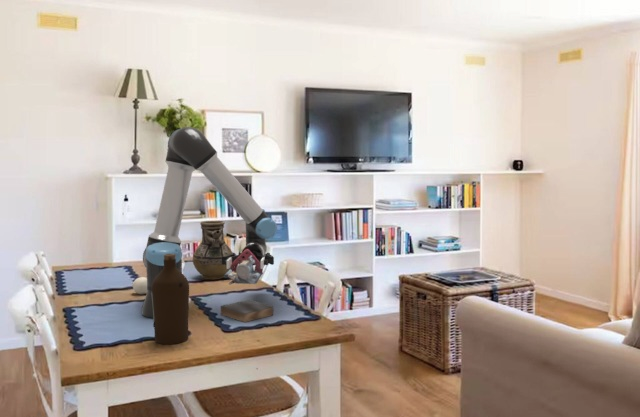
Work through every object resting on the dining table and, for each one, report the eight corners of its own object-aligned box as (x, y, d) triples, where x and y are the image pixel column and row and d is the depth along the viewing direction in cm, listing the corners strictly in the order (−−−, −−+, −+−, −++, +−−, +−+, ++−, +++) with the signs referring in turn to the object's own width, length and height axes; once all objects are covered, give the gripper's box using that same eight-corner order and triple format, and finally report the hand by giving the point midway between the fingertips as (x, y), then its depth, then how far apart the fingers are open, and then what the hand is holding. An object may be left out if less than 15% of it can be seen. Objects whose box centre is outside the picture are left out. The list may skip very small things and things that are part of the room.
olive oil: (195, 335, 173) (194, 252, 171) (181, 346, 163) (179, 258, 161) (162, 333, 175) (160, 251, 173) (146, 344, 165) (143, 257, 163)
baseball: (141, 291, 232) (141, 274, 231) (155, 293, 228) (154, 276, 228) (128, 294, 226) (128, 277, 225) (142, 296, 222) (141, 279, 222)
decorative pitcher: (190, 274, 265) (189, 220, 263) (228, 271, 271) (228, 218, 269) (196, 284, 245) (195, 225, 243) (238, 281, 251) (237, 223, 249)
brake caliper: (269, 271, 199) (262, 247, 192) (261, 296, 192) (254, 272, 184) (238, 270, 202) (230, 246, 194) (229, 294, 194) (220, 270, 186)
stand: (244, 322, 187) (244, 313, 187) (220, 314, 196) (220, 305, 196) (272, 315, 195) (272, 306, 195) (249, 308, 204) (249, 299, 204)
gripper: (284, 264, 212) (279, 276, 190) (221, 264, 213) (209, 276, 191) (284, 243, 212) (279, 253, 190) (221, 243, 212) (209, 253, 190)
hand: (244, 264), depth 190 cm, fingers closed on brake caliper, 10 cm apart
